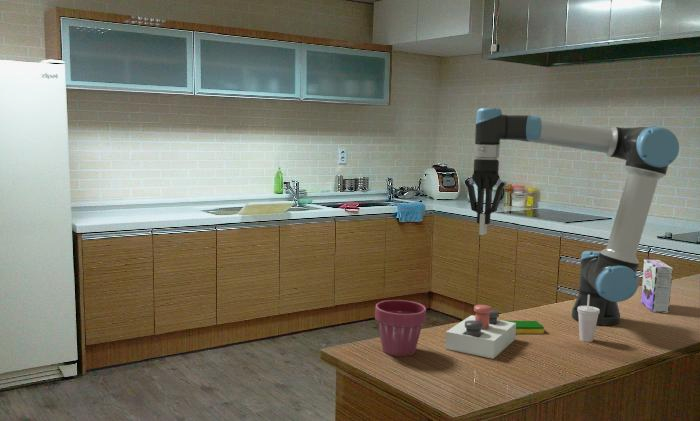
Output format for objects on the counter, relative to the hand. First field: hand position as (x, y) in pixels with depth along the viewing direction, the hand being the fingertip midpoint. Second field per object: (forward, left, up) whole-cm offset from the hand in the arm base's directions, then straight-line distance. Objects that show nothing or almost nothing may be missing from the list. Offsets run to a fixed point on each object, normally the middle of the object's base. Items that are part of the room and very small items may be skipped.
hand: (482, 234), depth 202 cm
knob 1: (-7, +24, -27) cm, 37 cm away
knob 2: (-7, +10, -27) cm, 30 cm away
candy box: (-45, -58, -30) cm, 79 cm away
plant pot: (+10, +36, -30) cm, 48 cm away
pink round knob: (-7, +17, -24) cm, 31 cm away
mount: (-7, +17, -29) cm, 35 cm away
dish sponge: (-12, -3, -30) cm, 33 cm away
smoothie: (-32, -5, -30) cm, 44 cm away
